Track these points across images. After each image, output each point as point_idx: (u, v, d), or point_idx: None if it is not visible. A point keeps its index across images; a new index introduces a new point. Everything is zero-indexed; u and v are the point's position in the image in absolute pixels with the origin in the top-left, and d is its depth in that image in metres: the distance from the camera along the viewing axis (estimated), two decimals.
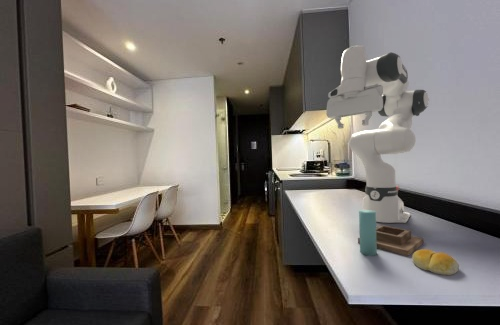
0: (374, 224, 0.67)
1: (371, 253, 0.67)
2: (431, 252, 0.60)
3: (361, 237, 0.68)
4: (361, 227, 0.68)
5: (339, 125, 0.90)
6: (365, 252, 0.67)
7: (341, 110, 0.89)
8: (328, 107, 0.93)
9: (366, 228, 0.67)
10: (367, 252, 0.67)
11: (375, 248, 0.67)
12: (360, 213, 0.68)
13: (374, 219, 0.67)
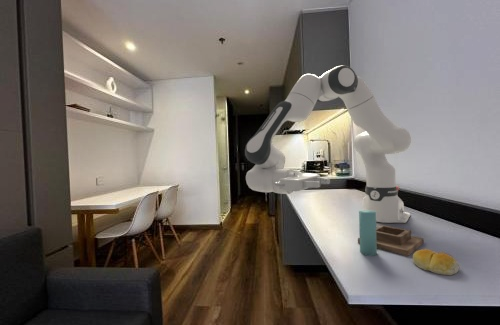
0: (374, 224, 0.67)
1: (371, 253, 0.67)
2: (431, 252, 0.60)
3: (361, 237, 0.68)
4: (361, 227, 0.68)
5: (326, 183, 0.80)
6: (365, 252, 0.67)
7: None
8: None
9: (366, 228, 0.67)
10: (367, 252, 0.67)
11: (375, 248, 0.67)
12: (360, 213, 0.68)
13: (374, 219, 0.67)
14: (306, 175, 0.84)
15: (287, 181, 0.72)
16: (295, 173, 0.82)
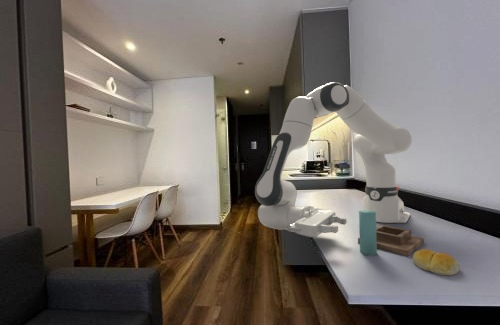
0: (374, 224, 0.67)
1: (371, 253, 0.67)
2: (432, 252, 0.59)
3: (361, 237, 0.68)
4: (361, 227, 0.68)
5: None
6: (365, 252, 0.67)
7: None
8: None
9: (366, 228, 0.67)
10: (367, 252, 0.67)
11: (375, 248, 0.67)
12: (360, 213, 0.68)
13: (374, 219, 0.67)
14: (321, 213, 0.82)
15: (304, 226, 0.70)
16: (310, 212, 0.80)
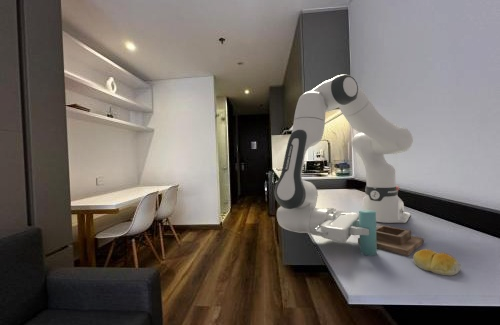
0: (374, 224, 0.67)
1: (371, 253, 0.66)
2: (432, 252, 0.59)
3: (361, 237, 0.68)
4: (361, 227, 0.68)
5: None
6: (365, 252, 0.67)
7: None
8: None
9: None
10: (367, 252, 0.67)
11: (375, 248, 0.67)
12: (360, 213, 0.68)
13: (374, 219, 0.67)
14: (345, 215, 0.77)
15: (331, 230, 0.65)
16: (334, 214, 0.75)
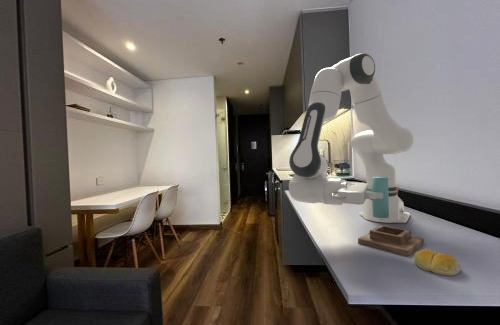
0: (387, 188, 0.70)
1: (384, 216, 0.70)
2: (433, 252, 0.59)
3: (374, 201, 0.71)
4: None
5: None
6: (379, 215, 0.71)
7: None
8: None
9: None
10: (380, 216, 0.70)
11: (388, 211, 0.71)
12: (373, 179, 0.71)
13: (387, 183, 0.70)
14: (356, 184, 0.80)
15: (349, 193, 0.67)
16: (346, 183, 0.78)
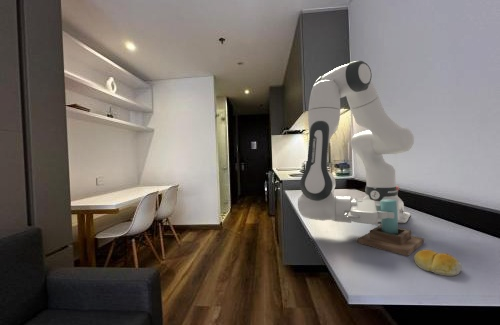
0: (396, 212, 0.73)
1: None
2: (433, 253, 0.59)
3: (384, 224, 0.74)
4: None
5: None
6: None
7: None
8: None
9: None
10: None
11: (397, 233, 0.73)
12: (383, 202, 0.74)
13: (396, 207, 0.73)
14: (364, 202, 0.82)
15: (363, 213, 0.69)
16: (356, 201, 0.80)
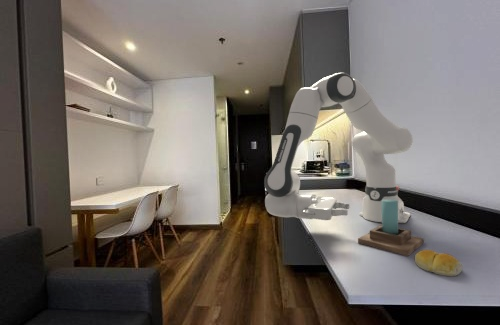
0: (397, 212, 0.73)
1: None
2: (434, 253, 0.59)
3: (385, 224, 0.74)
4: (385, 215, 0.74)
5: None
6: None
7: None
8: None
9: (390, 216, 0.73)
10: None
11: (397, 234, 0.73)
12: (384, 202, 0.74)
13: (397, 207, 0.73)
14: (325, 200, 0.88)
15: (318, 210, 0.75)
16: (317, 199, 0.85)
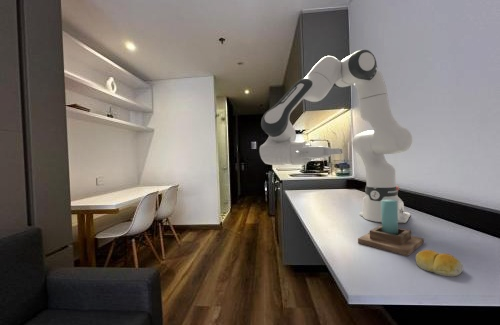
0: (396, 211, 0.73)
1: None
2: (434, 253, 0.59)
3: (385, 224, 0.74)
4: (384, 215, 0.74)
5: (339, 153, 0.85)
6: None
7: None
8: (320, 157, 0.92)
9: (390, 215, 0.73)
10: None
11: (397, 233, 0.73)
12: (383, 202, 0.74)
13: (396, 207, 0.73)
14: None
15: (311, 148, 0.75)
16: (310, 144, 0.86)
